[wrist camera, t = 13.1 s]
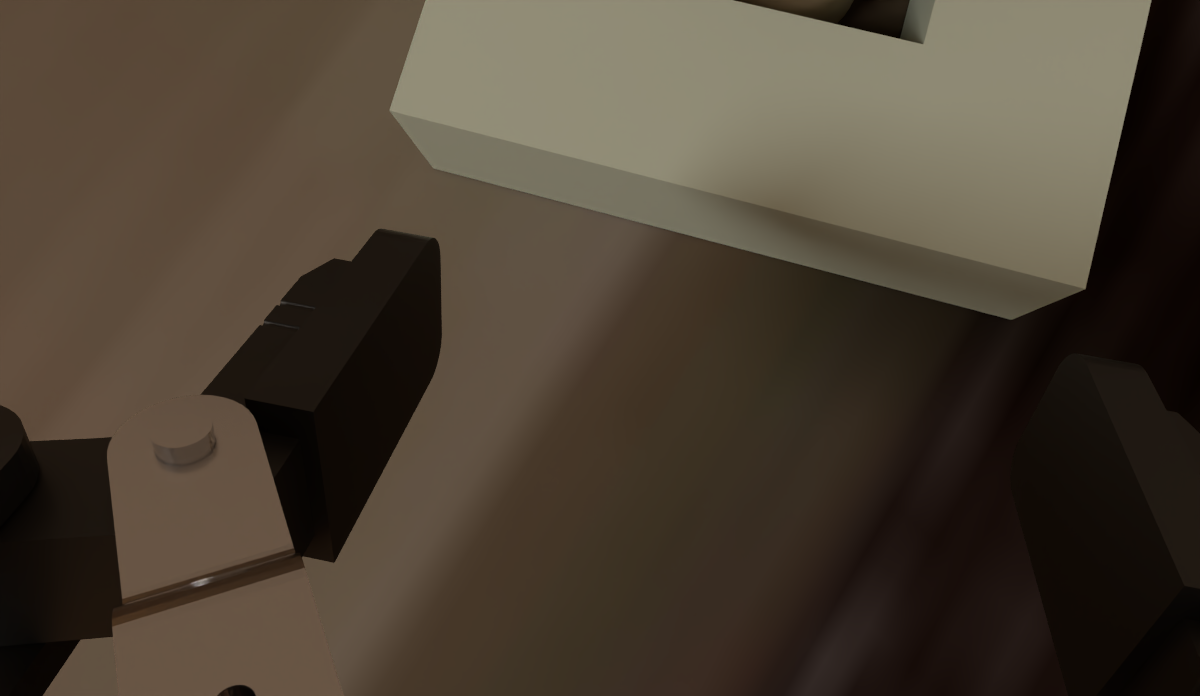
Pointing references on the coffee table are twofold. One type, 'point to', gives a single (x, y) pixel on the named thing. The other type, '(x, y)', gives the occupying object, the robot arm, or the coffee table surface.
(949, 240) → the white flat square block
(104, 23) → the coffee table surface
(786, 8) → the peg
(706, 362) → the coffee table surface
